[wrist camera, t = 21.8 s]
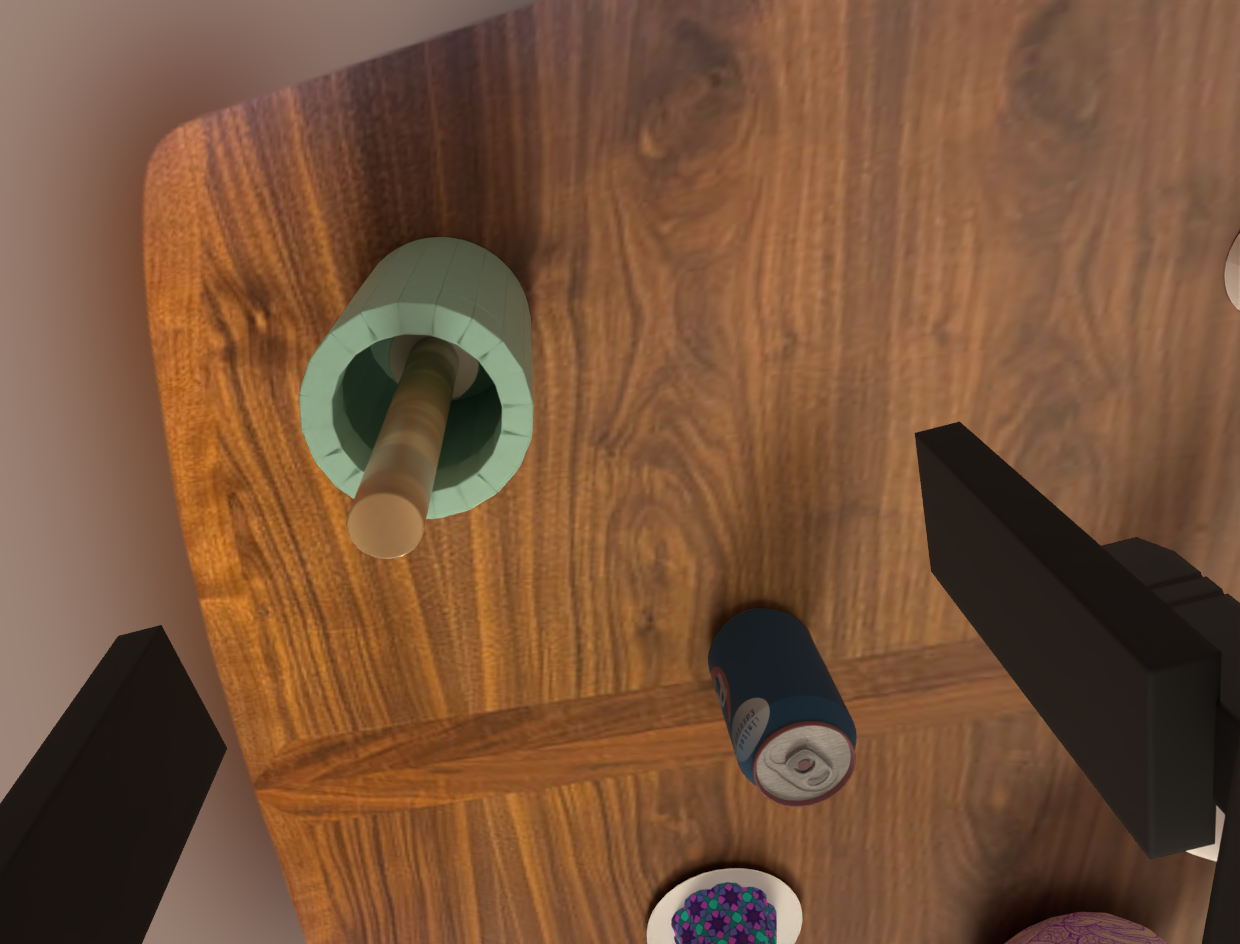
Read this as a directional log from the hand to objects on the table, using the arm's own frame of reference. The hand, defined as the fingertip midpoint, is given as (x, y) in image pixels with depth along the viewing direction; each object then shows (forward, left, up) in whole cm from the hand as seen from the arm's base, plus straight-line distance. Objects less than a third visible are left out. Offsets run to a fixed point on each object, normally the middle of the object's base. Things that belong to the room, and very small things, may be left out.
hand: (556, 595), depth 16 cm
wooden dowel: (+6, +4, -37) cm, 38 cm away
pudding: (0, +54, -38) cm, 66 cm away
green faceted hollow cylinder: (+6, +4, -38) cm, 39 cm away
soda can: (-7, +30, -38) cm, 49 cm away
